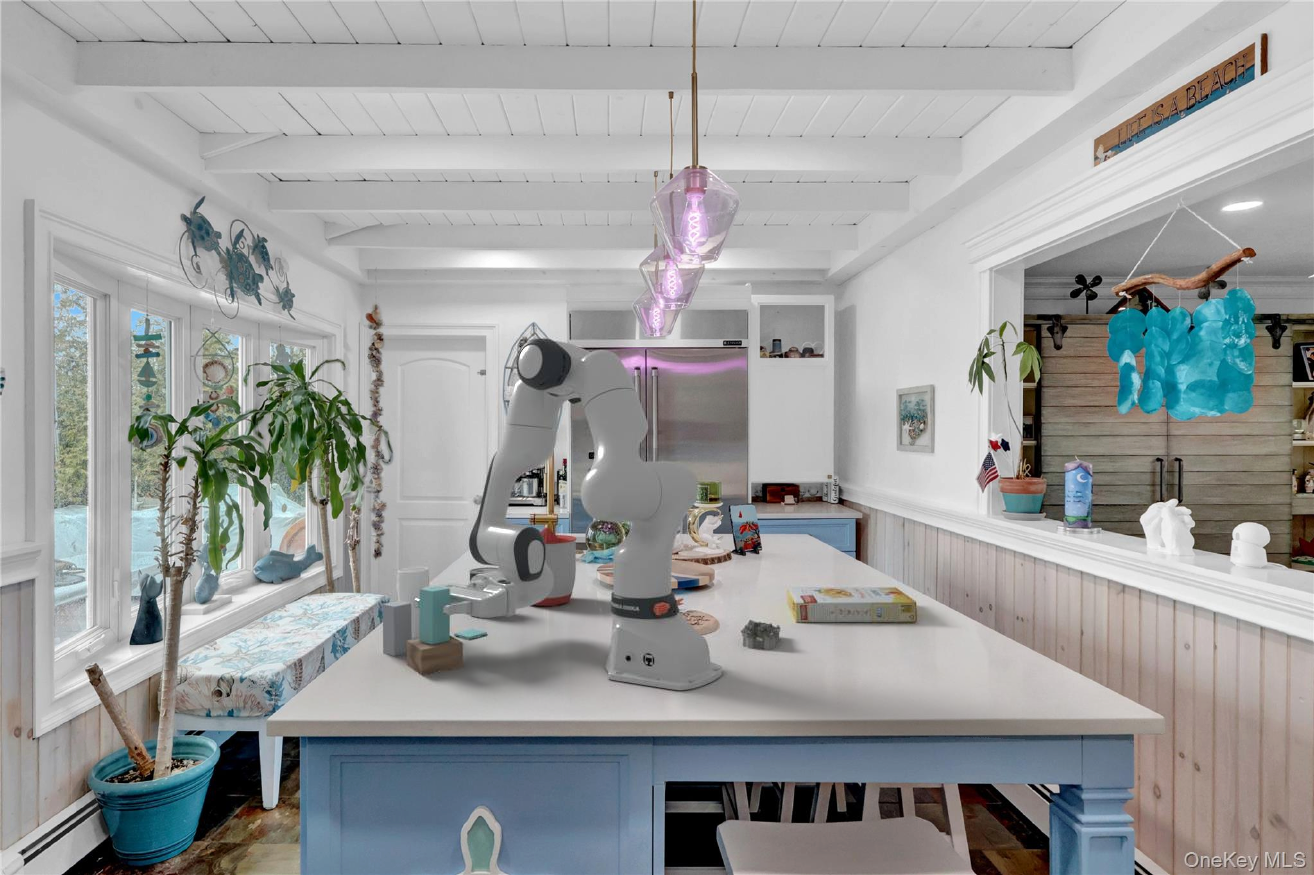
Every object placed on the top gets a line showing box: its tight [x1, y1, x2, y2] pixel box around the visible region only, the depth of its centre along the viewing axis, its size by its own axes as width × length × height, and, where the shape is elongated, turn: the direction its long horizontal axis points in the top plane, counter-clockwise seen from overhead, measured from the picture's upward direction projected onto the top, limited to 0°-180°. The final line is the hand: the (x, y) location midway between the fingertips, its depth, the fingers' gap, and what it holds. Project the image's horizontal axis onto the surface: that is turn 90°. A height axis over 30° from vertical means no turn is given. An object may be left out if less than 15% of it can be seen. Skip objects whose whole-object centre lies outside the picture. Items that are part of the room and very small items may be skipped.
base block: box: [406, 635, 464, 676], centre depth 142 cm, size 8×8×5 cm
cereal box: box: [786, 586, 918, 623], centre depth 181 cm, size 20×6×28 cm
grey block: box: [382, 600, 413, 657], centre depth 151 cm, size 4×4×10 cm
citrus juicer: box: [532, 527, 577, 607], centre depth 196 cm, size 16×17×20 cm
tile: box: [453, 628, 488, 640], centre depth 163 cm, size 5×5×1 cm
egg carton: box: [740, 619, 781, 651], centre depth 156 cm, size 11×8×4 cm
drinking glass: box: [396, 566, 430, 640], centre depth 163 cm, size 7×7×15 cm
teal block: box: [419, 586, 451, 645], centre depth 142 cm, size 4×4×10 cm
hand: (430, 607), depth 141 cm, fingers open, 8 cm apart
